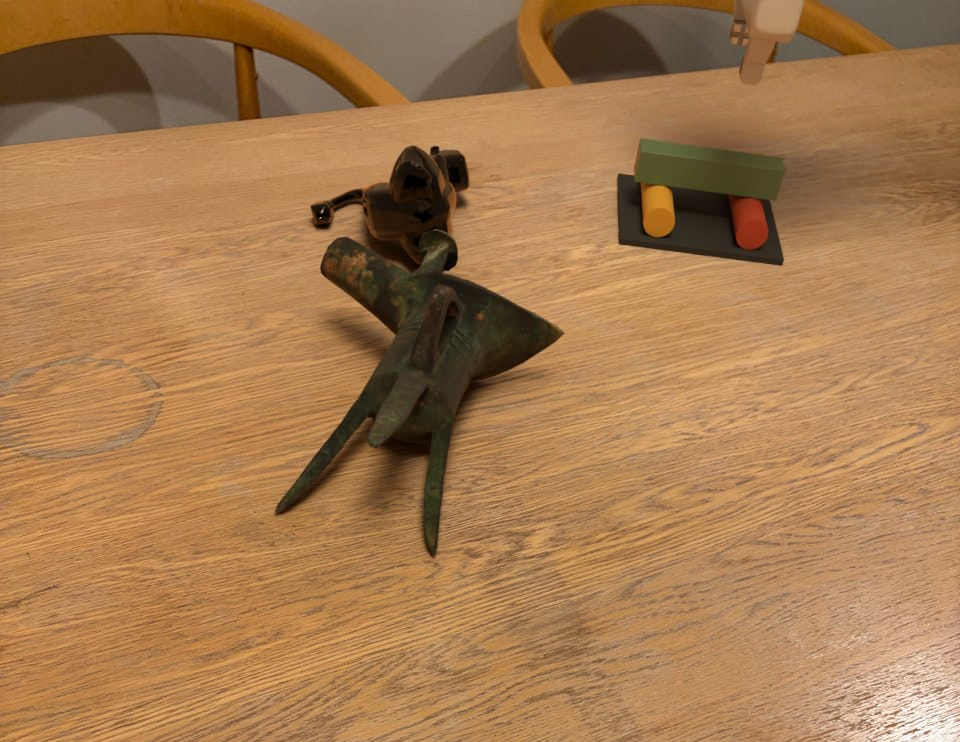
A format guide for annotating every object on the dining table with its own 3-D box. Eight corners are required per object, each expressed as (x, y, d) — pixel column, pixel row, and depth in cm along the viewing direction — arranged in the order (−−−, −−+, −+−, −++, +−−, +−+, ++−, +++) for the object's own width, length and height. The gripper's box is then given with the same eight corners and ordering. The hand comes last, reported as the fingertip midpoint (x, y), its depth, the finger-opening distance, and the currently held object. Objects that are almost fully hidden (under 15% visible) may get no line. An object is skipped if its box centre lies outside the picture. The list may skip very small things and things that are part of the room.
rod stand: (766, 198, 108) (777, 164, 105) (782, 265, 99) (794, 230, 96) (617, 178, 108) (623, 143, 105) (618, 243, 98) (626, 207, 96)
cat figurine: (308, 292, 92) (354, 232, 106) (457, 271, 89) (484, 213, 103) (276, 176, 86) (329, 129, 100) (434, 150, 83) (467, 106, 97)
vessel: (485, 581, 68) (572, 350, 82) (466, 450, 59) (568, 215, 73) (231, 541, 73) (355, 329, 87) (177, 414, 64) (325, 200, 78)
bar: (772, 187, 102) (782, 157, 99) (776, 201, 100) (786, 170, 97) (633, 168, 101) (640, 137, 99) (634, 182, 99) (640, 150, 97)
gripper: (851, -87, 75) (792, 111, 85) (812, -151, 88) (765, 27, 99) (765, -97, 75) (717, 102, 85) (740, -160, 88) (700, 19, 98)
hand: (743, 61), depth 92 cm, fingers open, 8 cm apart
